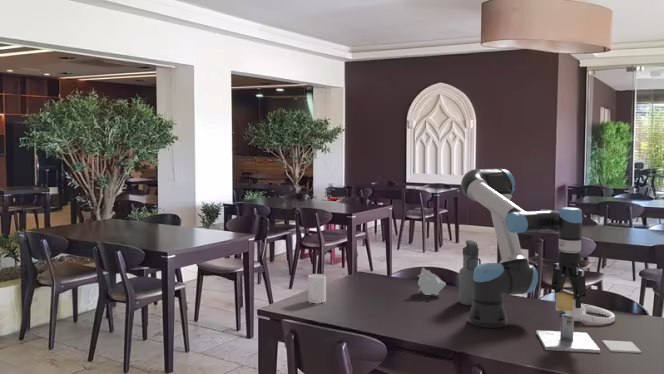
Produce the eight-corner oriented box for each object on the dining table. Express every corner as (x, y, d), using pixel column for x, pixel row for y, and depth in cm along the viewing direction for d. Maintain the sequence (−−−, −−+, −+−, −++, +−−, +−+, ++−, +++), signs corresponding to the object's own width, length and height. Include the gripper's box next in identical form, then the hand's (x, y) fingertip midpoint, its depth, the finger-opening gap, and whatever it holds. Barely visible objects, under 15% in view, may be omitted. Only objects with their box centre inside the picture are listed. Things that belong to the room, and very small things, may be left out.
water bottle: (484, 305, 262) (485, 243, 260) (462, 306, 261) (463, 243, 259) (476, 299, 272) (478, 239, 270) (456, 300, 271) (457, 239, 269)
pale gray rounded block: (301, 305, 263) (301, 279, 262) (311, 298, 274) (311, 273, 273) (318, 307, 260) (318, 280, 259) (328, 300, 271) (328, 274, 270)
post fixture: (545, 349, 207) (546, 322, 206) (536, 333, 225) (537, 307, 224) (599, 352, 204) (601, 324, 203) (586, 335, 222) (587, 309, 221)
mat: (610, 351, 205) (610, 349, 205) (602, 341, 215) (602, 340, 215) (641, 353, 204) (641, 351, 204) (631, 343, 214) (631, 341, 214)
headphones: (566, 323, 237) (619, 331, 233) (569, 303, 236) (622, 311, 232) (558, 309, 256) (607, 316, 252) (560, 291, 255) (609, 298, 251)
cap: (551, 306, 216) (552, 289, 215) (568, 303, 218) (568, 288, 218) (566, 311, 209) (567, 295, 208) (583, 309, 211) (584, 293, 211)
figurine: (448, 293, 284) (424, 283, 292) (448, 269, 276) (423, 259, 284) (436, 305, 277) (412, 294, 285) (436, 281, 270) (411, 270, 278)
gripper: (541, 246, 220) (539, 306, 222) (582, 256, 201) (580, 322, 203) (557, 245, 223) (555, 304, 224) (599, 255, 204) (597, 320, 205)
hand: (567, 313), depth 214 cm, fingers closed on cap, 7 cm apart
